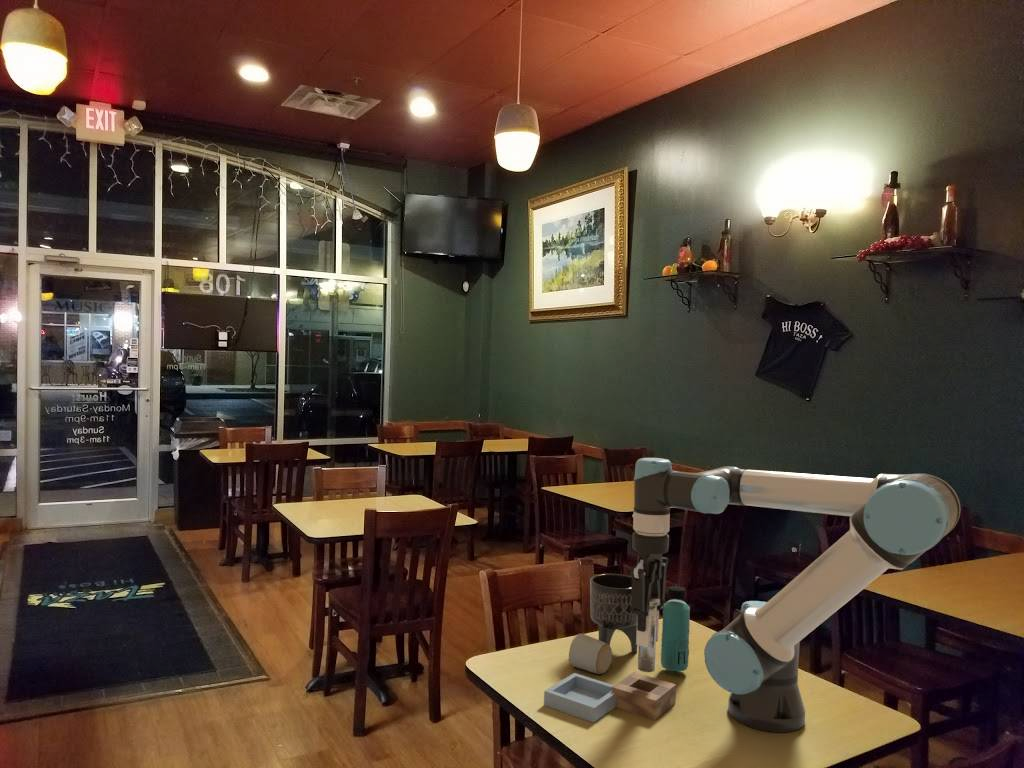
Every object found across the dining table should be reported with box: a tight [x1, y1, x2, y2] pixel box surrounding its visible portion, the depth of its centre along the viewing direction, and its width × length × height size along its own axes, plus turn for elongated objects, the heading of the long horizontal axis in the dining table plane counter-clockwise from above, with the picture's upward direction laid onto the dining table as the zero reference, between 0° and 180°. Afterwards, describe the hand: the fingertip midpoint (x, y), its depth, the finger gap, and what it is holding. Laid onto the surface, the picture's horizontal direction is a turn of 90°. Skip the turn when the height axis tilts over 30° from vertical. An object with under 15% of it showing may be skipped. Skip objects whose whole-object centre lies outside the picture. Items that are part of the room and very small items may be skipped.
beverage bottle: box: [660, 585, 691, 672], centre depth 179 cm, size 6×7×20 cm
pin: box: [637, 596, 660, 673], centre depth 161 cm, size 5×5×15 cm
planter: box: [589, 573, 638, 654], centre depth 190 cm, size 13×13×18 cm
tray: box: [543, 672, 616, 723], centre depth 161 cm, size 12×12×3 cm
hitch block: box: [612, 671, 677, 721], centre depth 162 cm, size 10×10×4 cm
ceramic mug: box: [568, 633, 613, 675], centre depth 180 cm, size 11×8×8 cm
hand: (647, 642), depth 161 cm, fingers closed on pin, 3 cm apart
